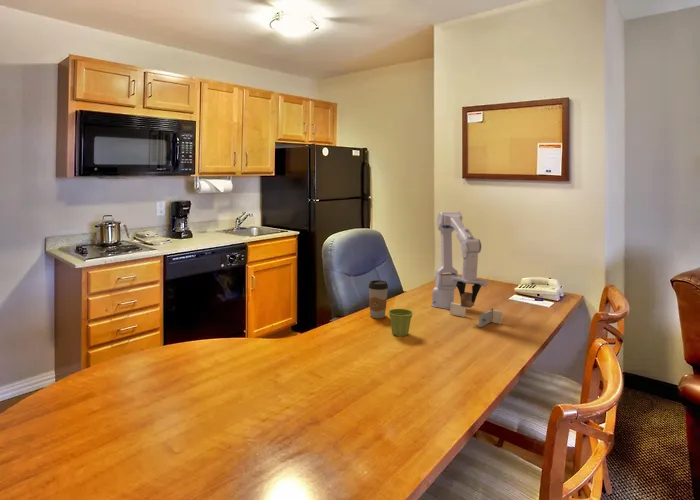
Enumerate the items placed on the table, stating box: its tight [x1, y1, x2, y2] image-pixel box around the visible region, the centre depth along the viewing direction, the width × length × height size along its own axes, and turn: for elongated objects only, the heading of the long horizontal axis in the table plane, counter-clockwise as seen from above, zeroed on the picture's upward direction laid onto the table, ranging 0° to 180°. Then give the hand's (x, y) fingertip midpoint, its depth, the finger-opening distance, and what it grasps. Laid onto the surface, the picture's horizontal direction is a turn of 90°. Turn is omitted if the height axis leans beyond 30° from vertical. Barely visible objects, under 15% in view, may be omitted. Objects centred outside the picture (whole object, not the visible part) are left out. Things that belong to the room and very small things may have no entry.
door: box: [478, 308, 494, 328], centre depth 180 cm, size 11×2×5 cm, turn 139°
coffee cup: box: [368, 279, 389, 319], centre depth 188 cm, size 8×8×15 cm
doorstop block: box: [460, 291, 475, 309], centre depth 181 cm, size 4×5×5 cm
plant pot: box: [387, 308, 414, 337], centre depth 167 cm, size 9×9×9 cm
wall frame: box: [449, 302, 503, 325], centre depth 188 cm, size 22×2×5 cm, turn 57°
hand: (468, 300), depth 182 cm, fingers closed on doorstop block, 4 cm apart
